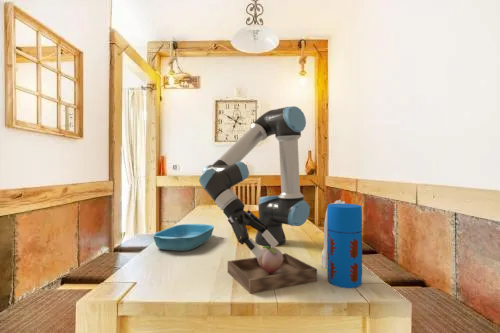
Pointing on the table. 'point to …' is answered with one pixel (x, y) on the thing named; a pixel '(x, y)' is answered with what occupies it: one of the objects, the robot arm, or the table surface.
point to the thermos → (344, 245)
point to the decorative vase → (324, 252)
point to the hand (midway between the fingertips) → (268, 250)
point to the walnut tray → (260, 280)
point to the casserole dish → (183, 236)
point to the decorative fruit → (270, 259)
